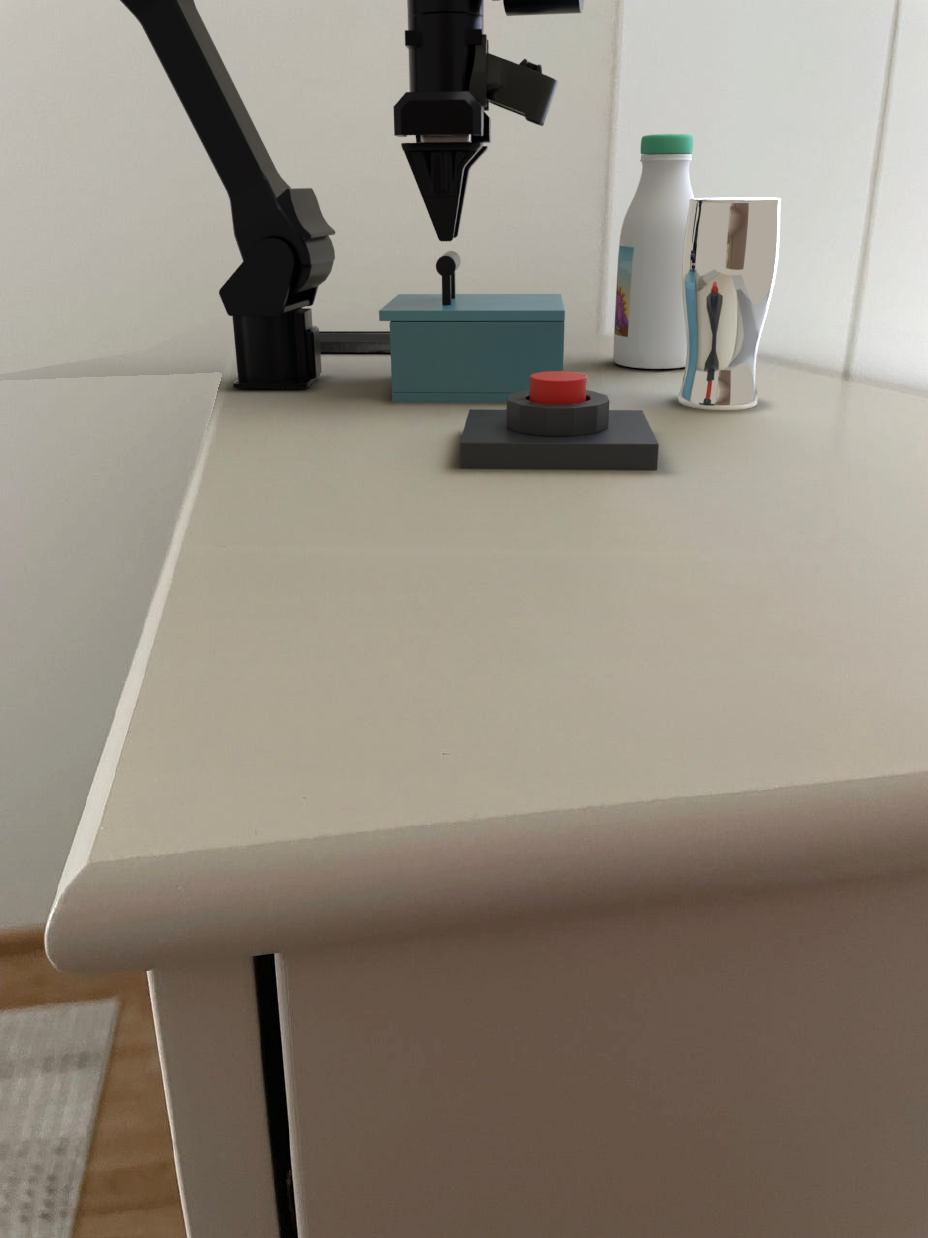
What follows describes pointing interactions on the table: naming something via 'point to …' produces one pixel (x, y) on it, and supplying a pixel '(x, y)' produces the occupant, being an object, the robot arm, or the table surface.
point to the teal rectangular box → (471, 358)
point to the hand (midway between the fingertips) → (448, 239)
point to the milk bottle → (654, 259)
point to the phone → (354, 341)
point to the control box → (558, 436)
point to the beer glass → (726, 297)
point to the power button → (558, 387)
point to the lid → (470, 303)
